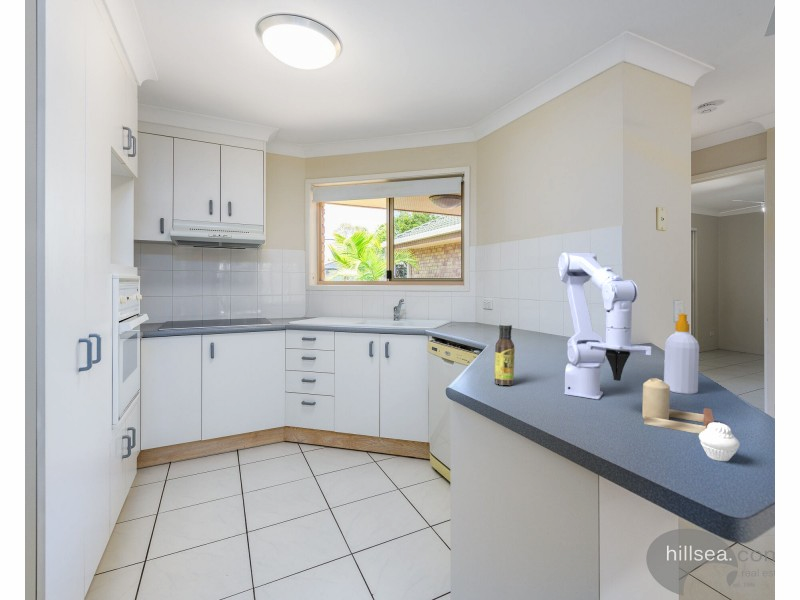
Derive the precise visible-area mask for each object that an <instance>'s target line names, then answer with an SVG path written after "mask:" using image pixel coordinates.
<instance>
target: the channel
mask: <svg viewBox="0 0 800 600" xmlns="http://www.w3.org/2000/svg"><path fill="white" fill-rule="evenodd" d="M712 412H713V411H712V408H707V407H704V408H703V414H702V413H696V412H690V411H683V410H679V409H678V410H676V409H671V408H669V418H673V419H674V418H675V419H680V420H687V421H691V422H692V421H693V422H700V423H703V425H699V424H694V423H688V422H682V421H677V420H672V419H670V420H666V419H660V418H654V417H648V416H645V417H644V418H643V421H644V422H643V423H644V425H648V426H653V427H659V428H664V429H671V430H676V431H683V432H688V433H693V434H698V435H699V434H700V433H701V432H702V431H705V429H706V428H707V426H708V424H710V423H713V422H715V420H714V417H713V416H714V415H713V413H712Z"/></svg>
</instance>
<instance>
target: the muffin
mask: <svg viewBox="0 0 800 600" xmlns="http://www.w3.org/2000/svg"><path fill="white" fill-rule="evenodd" d="M698 439H699V441H700V445H701V446H702V448H703V450H704V452H705V454H706V455H707V457H708V458H710V459H711V460H715V461H718V462H729V461H730V460H731V459H732V457H733V456H734V455H735V454H736V452H737V451H738V449H739V447H740V441H739V440H738V439H737V437H735V435H734V433H732V429H731V428H730V426H729V425H728V424H725V423H721V422H715V421H714V422H713V423H710V424H708V426H707V428H706V429H705V431H702V432H701V433H700V434H698Z"/></svg>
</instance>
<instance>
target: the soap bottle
mask: <svg viewBox="0 0 800 600" xmlns="http://www.w3.org/2000/svg"><path fill="white" fill-rule="evenodd" d="M677 315H678V320H677V322H676V323H675V327H674V328H675V329H674V333H672V334H670V336H668V338H666V340H665V343H664V363H663V364H664V365H663V367H664V368H663V369H664V370H663V382H665V383H666V384H668V385H669V386H670V392H671V393H672V392H673V393H677V394H684V395H691V394H694V395H695V394H697V393H698V392H699V391H698V390H699V389H698V388H699V366H700V365H699V364H700V363H699V361H700V360H699V359H700V345H699V341H698V340H697V339H696V338H695V337H694V335H693V334H690V323H688V322H689V321H688V314H685V313H681V312H680V313H679V314H677Z"/></svg>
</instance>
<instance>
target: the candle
mask: <svg viewBox="0 0 800 600" xmlns="http://www.w3.org/2000/svg"><path fill="white" fill-rule="evenodd" d="M670 392H671V391H670V386H669V385H668V384H666V383H665V382H664V380H662V379H659V378H656V377H655V378H653V377H652V378H649V379H648V380H646V381H645V382H643V384H642V412H641V413H642V419H644V417H645V416H648V417H654V418H660V419H666V420H669V419H670V417H669V409H670V395H671V394H670Z"/></svg>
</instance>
